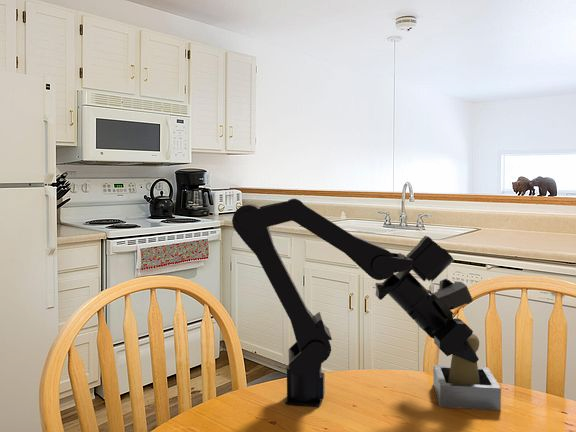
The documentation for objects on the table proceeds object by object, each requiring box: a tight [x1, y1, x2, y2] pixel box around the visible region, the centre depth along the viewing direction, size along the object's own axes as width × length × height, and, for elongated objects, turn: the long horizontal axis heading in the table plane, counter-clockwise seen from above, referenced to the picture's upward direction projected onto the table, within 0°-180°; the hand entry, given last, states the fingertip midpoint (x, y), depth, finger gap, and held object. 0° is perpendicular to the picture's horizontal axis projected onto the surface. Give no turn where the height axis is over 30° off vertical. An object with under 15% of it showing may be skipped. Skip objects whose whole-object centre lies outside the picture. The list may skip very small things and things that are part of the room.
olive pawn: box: [448, 333, 480, 385], centre depth 97 cm, size 6×6×11 cm
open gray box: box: [433, 364, 502, 411], centre depth 97 cm, size 10×10×4 cm
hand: (471, 356), depth 97 cm, fingers closed on olive pawn, 5 cm apart
